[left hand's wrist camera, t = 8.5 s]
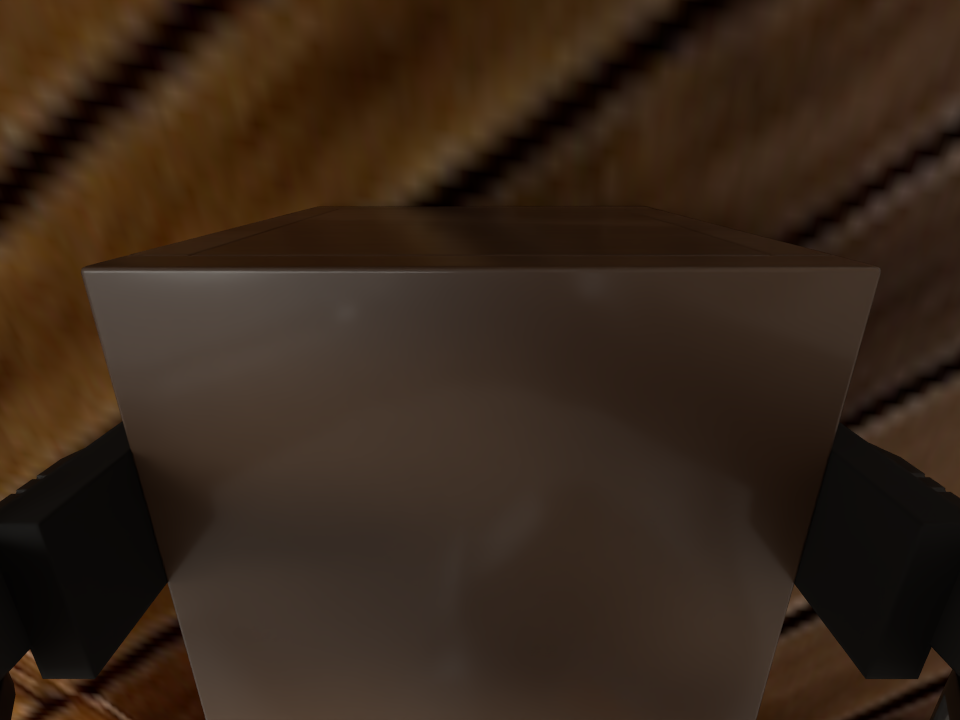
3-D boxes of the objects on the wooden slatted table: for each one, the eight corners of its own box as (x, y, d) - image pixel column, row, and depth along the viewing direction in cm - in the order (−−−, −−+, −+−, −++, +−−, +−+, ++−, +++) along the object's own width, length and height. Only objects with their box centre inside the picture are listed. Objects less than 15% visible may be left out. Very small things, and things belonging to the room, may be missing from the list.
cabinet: (605, 582, 23) (703, 915, 13) (357, 581, 23) (258, 913, 13) (646, 206, 17) (885, 267, 7) (315, 206, 17) (75, 267, 7)
